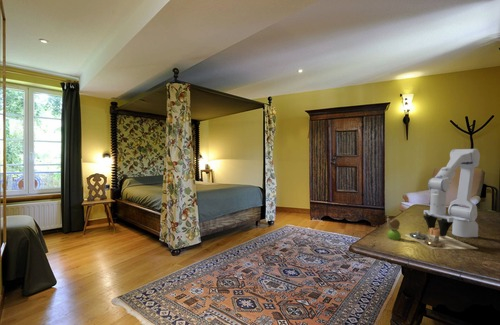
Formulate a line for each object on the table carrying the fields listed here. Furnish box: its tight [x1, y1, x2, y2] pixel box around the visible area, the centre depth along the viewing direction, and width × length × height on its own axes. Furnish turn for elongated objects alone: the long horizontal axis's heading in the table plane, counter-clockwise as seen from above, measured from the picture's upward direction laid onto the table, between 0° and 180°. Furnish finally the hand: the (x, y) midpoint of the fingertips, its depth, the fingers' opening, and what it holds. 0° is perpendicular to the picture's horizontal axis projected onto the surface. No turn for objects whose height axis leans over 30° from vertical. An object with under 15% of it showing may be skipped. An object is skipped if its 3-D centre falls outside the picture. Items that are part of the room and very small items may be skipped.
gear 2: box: [424, 239, 445, 248], centre depth 105 cm, size 7×7×2 cm
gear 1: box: [409, 232, 428, 240], centre depth 114 cm, size 7×7×1 cm
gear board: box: [404, 230, 479, 250], centre depth 110 cm, size 20×18×5 cm
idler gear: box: [428, 227, 443, 237], centre depth 110 cm, size 6×6×2 cm
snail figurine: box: [386, 215, 402, 241], centre depth 113 cm, size 5×6×12 cm
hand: (437, 233), depth 110 cm, fingers closed on idler gear, 6 cm apart
